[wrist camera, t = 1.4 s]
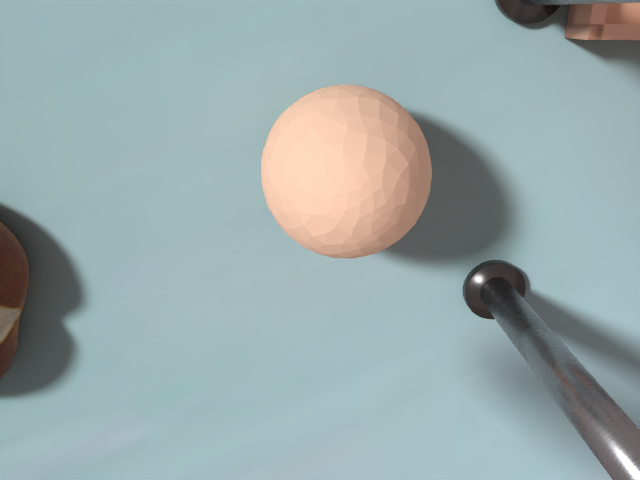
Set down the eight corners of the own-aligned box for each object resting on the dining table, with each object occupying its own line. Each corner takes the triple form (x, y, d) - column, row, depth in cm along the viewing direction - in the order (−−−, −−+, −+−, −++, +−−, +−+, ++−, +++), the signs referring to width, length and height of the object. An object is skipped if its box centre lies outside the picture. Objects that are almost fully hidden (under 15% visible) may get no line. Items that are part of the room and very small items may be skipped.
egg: (432, 175, 28) (491, 235, 20) (309, 245, 29) (323, 327, 21) (365, 46, 26) (404, 60, 18) (233, 125, 26) (218, 170, 19)
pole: (465, 260, 30) (648, 493, 15) (525, 259, 30) (759, 487, 15) (460, 315, 31) (626, 580, 16) (517, 313, 31) (731, 572, 17)
